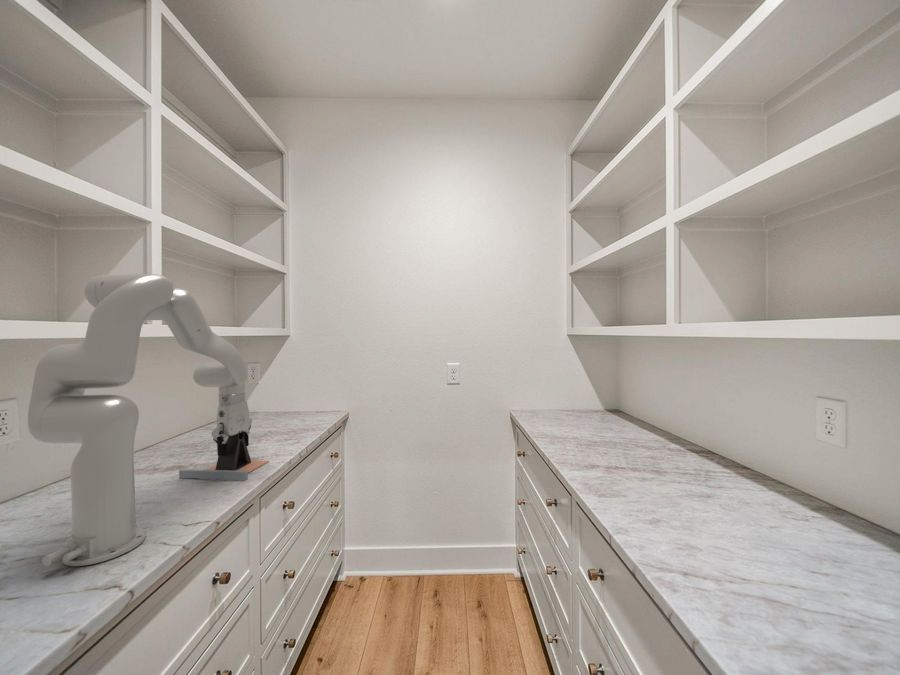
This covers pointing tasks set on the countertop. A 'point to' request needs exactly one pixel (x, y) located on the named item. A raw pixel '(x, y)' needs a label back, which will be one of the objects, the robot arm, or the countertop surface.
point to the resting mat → (247, 466)
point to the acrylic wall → (214, 474)
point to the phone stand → (234, 454)
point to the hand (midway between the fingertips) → (233, 450)
